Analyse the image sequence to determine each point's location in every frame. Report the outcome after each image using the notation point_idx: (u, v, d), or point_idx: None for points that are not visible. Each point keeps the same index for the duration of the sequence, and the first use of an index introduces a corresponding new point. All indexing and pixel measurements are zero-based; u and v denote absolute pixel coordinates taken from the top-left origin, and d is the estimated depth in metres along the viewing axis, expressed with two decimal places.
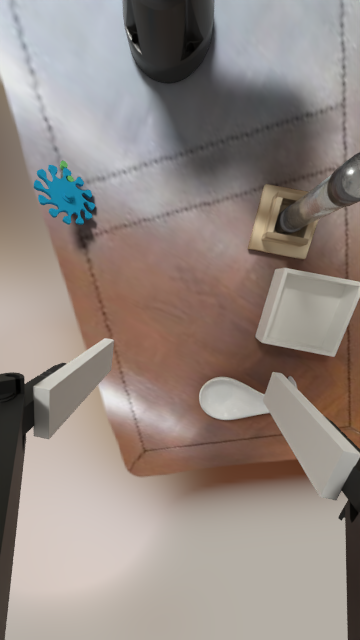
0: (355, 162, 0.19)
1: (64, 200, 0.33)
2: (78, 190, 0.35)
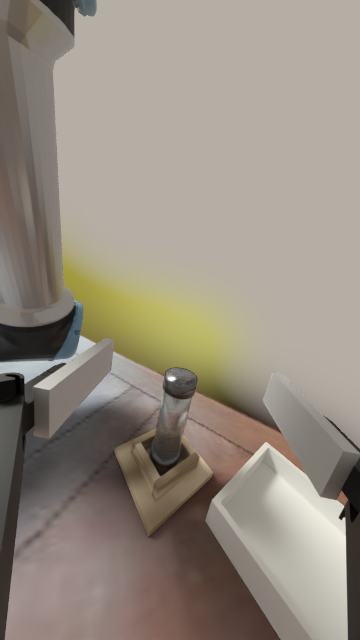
0: (169, 374, 0.25)
1: None
2: None
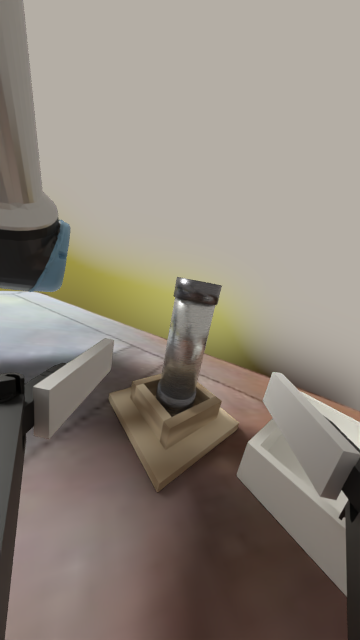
0: None
1: None
2: None
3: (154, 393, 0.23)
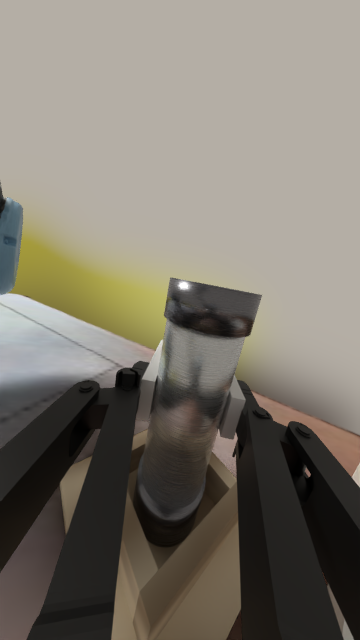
0: None
1: None
2: None
3: (136, 466, 0.14)
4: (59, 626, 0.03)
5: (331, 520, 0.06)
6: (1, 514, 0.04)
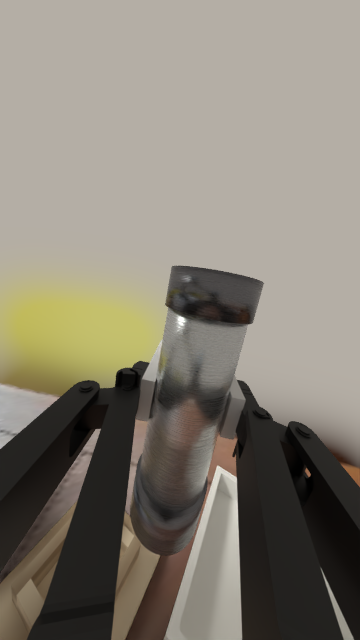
0: None
1: None
2: None
3: (54, 562, 0.18)
4: (59, 625, 0.03)
5: (331, 520, 0.06)
6: (1, 514, 0.04)
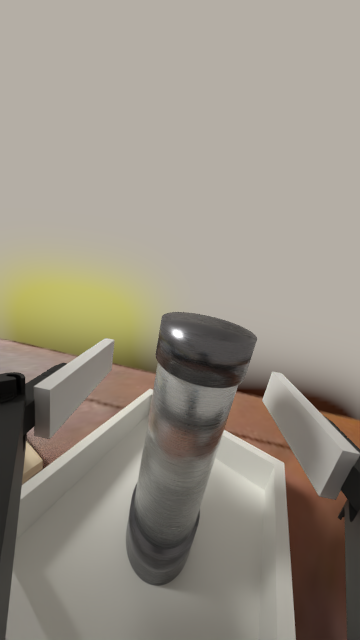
0: (176, 320, 0.08)
1: None
2: None
3: None
4: None
5: None
6: None
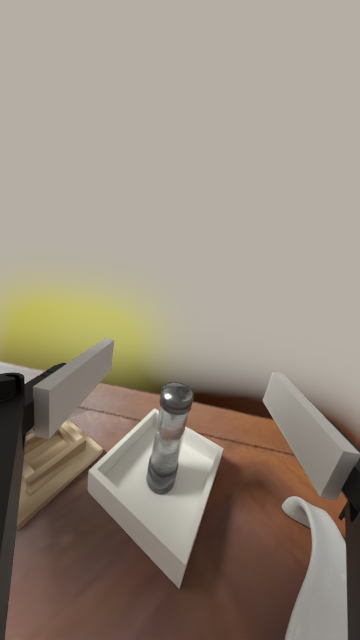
0: (166, 391, 0.25)
1: None
2: None
3: (31, 448, 0.29)
4: None
5: None
6: None
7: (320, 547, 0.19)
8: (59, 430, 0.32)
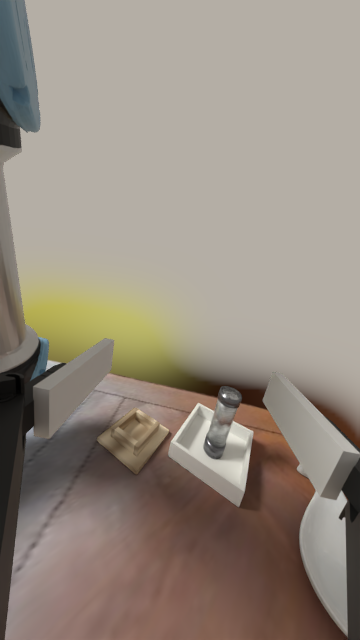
0: (223, 392, 0.38)
1: None
2: None
3: (123, 428, 0.42)
4: None
5: None
6: None
7: None
8: (137, 416, 0.45)
